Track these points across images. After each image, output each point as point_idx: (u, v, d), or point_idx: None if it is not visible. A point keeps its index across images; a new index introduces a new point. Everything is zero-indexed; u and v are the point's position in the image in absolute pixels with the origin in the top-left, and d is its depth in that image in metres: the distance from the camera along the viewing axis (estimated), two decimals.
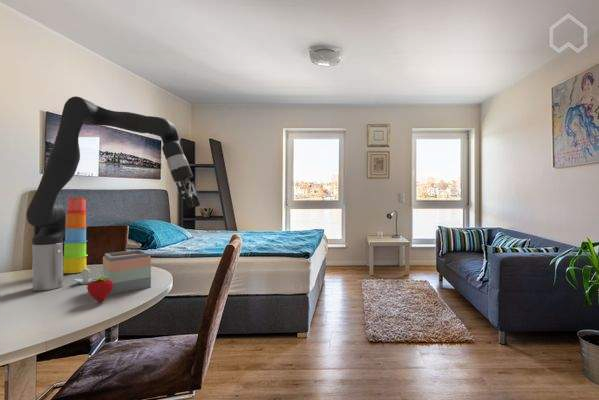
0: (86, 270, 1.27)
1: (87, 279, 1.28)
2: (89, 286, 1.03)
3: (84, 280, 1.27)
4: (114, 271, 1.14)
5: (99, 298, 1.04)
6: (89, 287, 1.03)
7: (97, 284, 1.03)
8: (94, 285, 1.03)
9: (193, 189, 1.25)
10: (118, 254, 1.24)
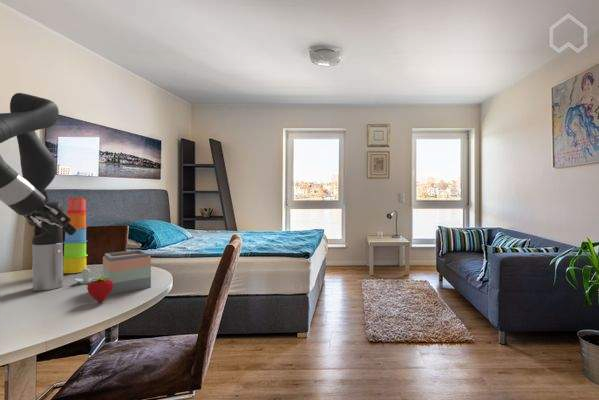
0: (86, 270, 1.27)
1: (87, 279, 1.28)
2: (89, 286, 1.03)
3: (84, 280, 1.28)
4: (114, 271, 1.14)
5: (99, 298, 1.04)
6: (89, 287, 1.03)
7: (97, 284, 1.03)
8: (94, 285, 1.03)
9: None
10: (118, 254, 1.24)
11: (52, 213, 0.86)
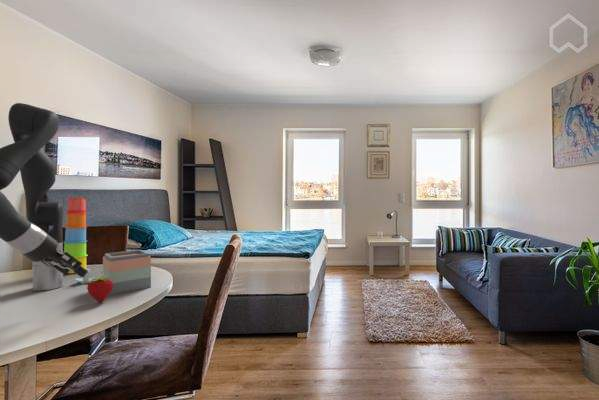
0: None
1: (87, 279, 1.28)
2: (89, 286, 1.03)
3: (84, 280, 1.28)
4: (114, 271, 1.14)
5: (99, 298, 1.04)
6: (89, 287, 1.03)
7: (97, 284, 1.03)
8: (94, 285, 1.03)
9: None
10: (118, 254, 1.24)
11: (64, 259, 0.89)
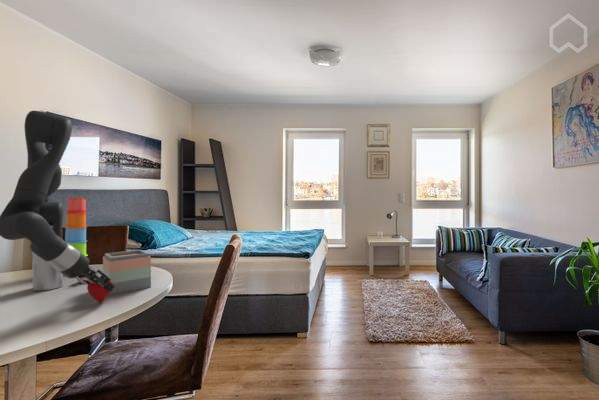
0: None
1: None
2: (89, 286, 1.03)
3: None
4: (114, 271, 1.14)
5: (99, 298, 1.04)
6: (89, 287, 1.03)
7: (97, 284, 1.03)
8: (94, 285, 1.03)
9: None
10: (118, 254, 1.24)
11: (97, 277, 0.97)
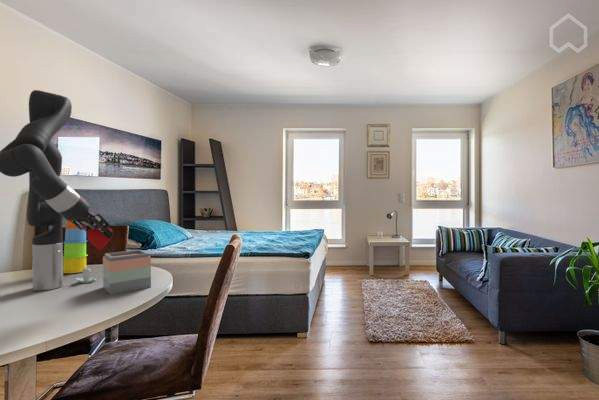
0: (87, 269, 1.28)
1: (88, 278, 1.29)
2: (89, 232, 1.03)
3: (85, 279, 1.29)
4: (114, 271, 1.14)
5: (99, 244, 1.04)
6: (89, 233, 1.02)
7: (96, 230, 1.03)
8: (94, 231, 1.02)
9: None
10: (118, 254, 1.24)
11: (96, 220, 0.97)
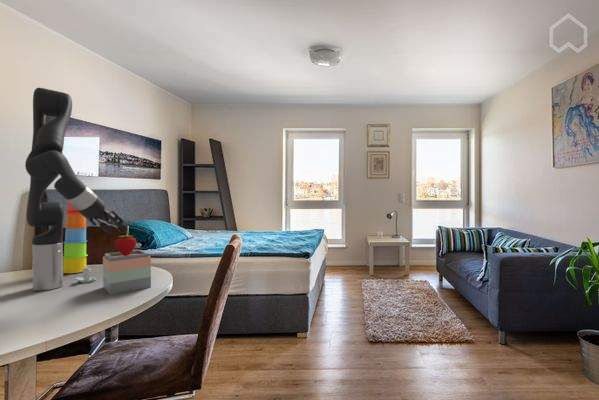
0: (87, 269, 1.29)
1: (88, 278, 1.30)
2: (116, 241, 1.19)
3: (85, 279, 1.29)
4: (114, 271, 1.14)
5: (126, 252, 1.21)
6: (117, 242, 1.19)
7: (123, 239, 1.20)
8: (121, 240, 1.19)
9: (106, 222, 1.12)
10: (118, 254, 1.24)
11: (111, 216, 1.09)
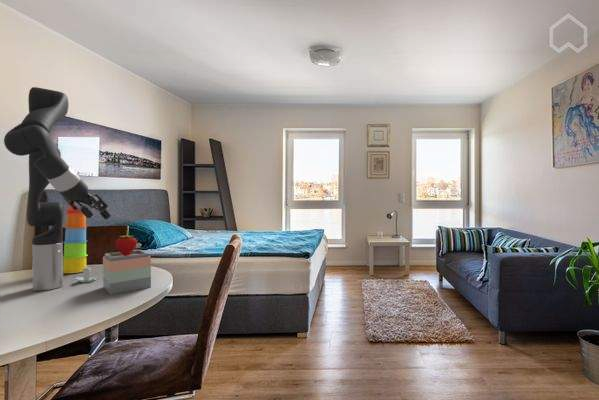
0: (87, 269, 1.29)
1: (88, 278, 1.30)
2: (117, 241, 1.19)
3: (85, 279, 1.29)
4: (114, 271, 1.14)
5: (126, 252, 1.21)
6: (117, 242, 1.19)
7: (124, 240, 1.20)
8: (122, 240, 1.19)
9: None
10: (118, 254, 1.24)
11: (94, 200, 1.04)
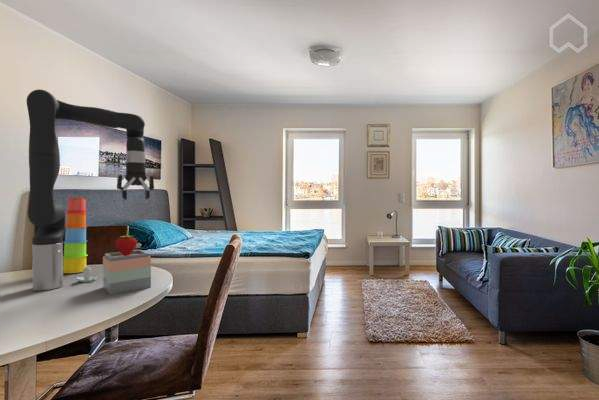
0: (87, 269, 1.30)
1: (88, 277, 1.30)
2: (117, 242, 1.19)
3: (85, 278, 1.30)
4: (114, 271, 1.14)
5: (126, 252, 1.21)
6: (117, 242, 1.19)
7: (124, 240, 1.20)
8: (122, 241, 1.19)
9: (142, 183, 1.37)
10: (118, 254, 1.24)
11: None
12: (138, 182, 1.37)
